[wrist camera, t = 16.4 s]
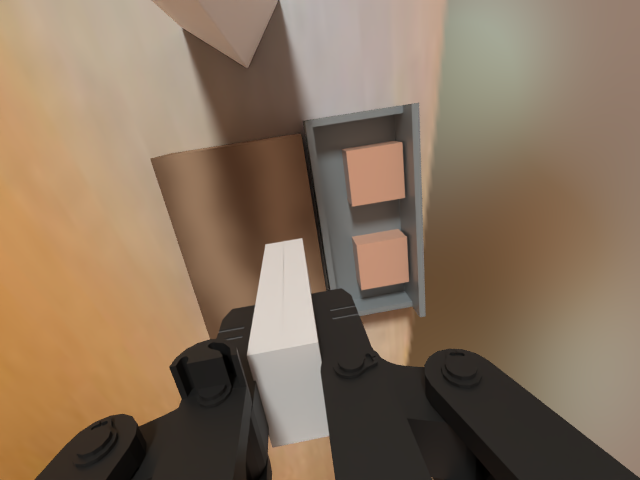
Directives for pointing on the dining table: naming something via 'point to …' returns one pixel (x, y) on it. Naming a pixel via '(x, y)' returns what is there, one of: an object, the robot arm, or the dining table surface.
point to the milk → (223, 23)
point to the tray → (351, 221)
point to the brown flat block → (238, 216)
